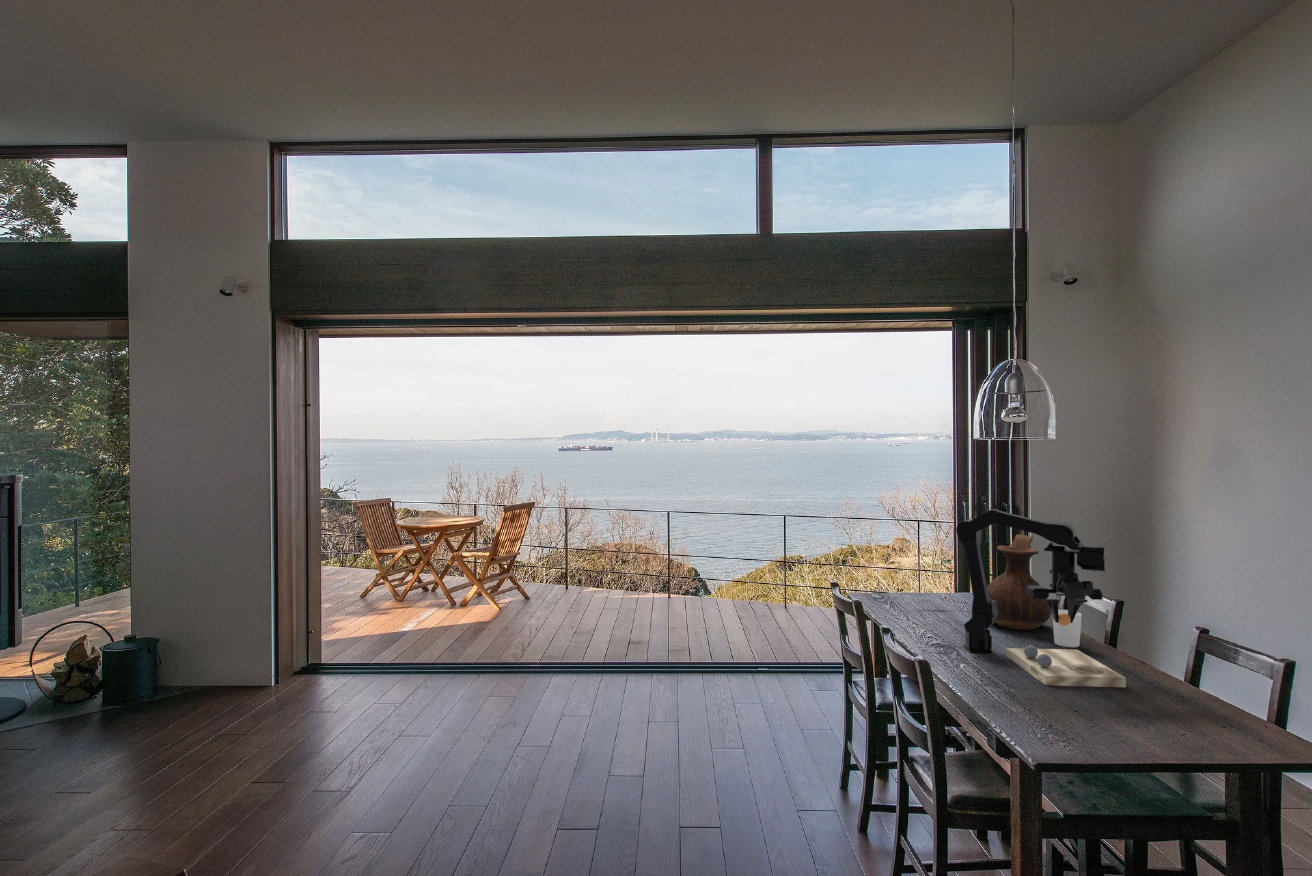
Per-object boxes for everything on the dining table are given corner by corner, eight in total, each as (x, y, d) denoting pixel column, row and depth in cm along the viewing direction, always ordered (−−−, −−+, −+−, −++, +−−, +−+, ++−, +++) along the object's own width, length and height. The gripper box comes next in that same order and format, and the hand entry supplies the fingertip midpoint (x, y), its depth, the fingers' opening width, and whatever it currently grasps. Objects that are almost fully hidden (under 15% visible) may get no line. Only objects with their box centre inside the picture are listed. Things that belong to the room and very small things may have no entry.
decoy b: (1040, 669, 187) (1040, 656, 187) (1034, 664, 190) (1034, 652, 190) (1054, 669, 187) (1054, 656, 187) (1048, 665, 190) (1048, 652, 190)
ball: (1060, 627, 196) (1060, 614, 196) (1054, 623, 200) (1054, 611, 200) (1073, 627, 196) (1073, 614, 196) (1066, 623, 200) (1066, 611, 200)
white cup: (1073, 641, 221) (1073, 609, 221) (1086, 648, 213) (1086, 616, 213) (1047, 640, 222) (1047, 609, 222) (1059, 647, 214) (1059, 615, 214)
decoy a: (1027, 659, 195) (1027, 647, 195) (1021, 655, 198) (1021, 643, 198) (1040, 660, 195) (1040, 647, 195) (1034, 656, 198) (1034, 643, 198)
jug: (1067, 632, 231) (1067, 542, 231) (1008, 635, 228) (1008, 543, 228) (1022, 615, 253) (1022, 533, 253) (968, 618, 249) (968, 534, 249)
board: (1045, 685, 182) (1045, 675, 182) (1006, 656, 206) (1006, 648, 206) (1125, 687, 180) (1125, 677, 180) (1076, 658, 204) (1076, 649, 204)
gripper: (1042, 572, 191) (1043, 629, 191) (1114, 573, 189) (1114, 630, 189) (1024, 565, 202) (1024, 619, 202) (1091, 566, 201) (1091, 620, 200)
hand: (1063, 622), depth 198 cm, fingers closed on ball, 3 cm apart
